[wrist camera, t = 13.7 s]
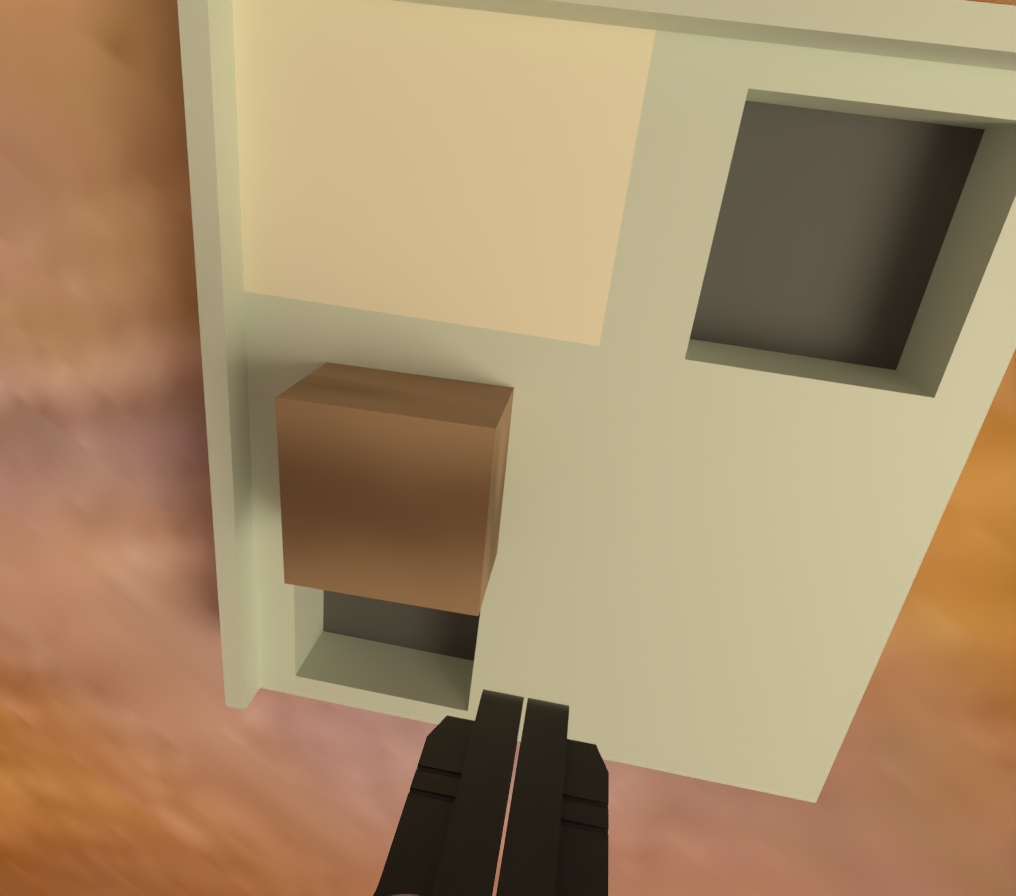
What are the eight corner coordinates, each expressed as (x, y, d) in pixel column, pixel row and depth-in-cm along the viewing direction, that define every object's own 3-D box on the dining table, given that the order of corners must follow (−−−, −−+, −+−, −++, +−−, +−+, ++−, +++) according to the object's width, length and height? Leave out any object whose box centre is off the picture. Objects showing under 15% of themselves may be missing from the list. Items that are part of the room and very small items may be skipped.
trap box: (805, 742, 28) (843, 855, 23) (267, 634, 30) (204, 719, 25) (1082, 64, 18) (1244, 29, 13) (244, -29, 20) (134, -87, 15)
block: (497, 553, 23) (478, 616, 20) (329, 526, 23) (284, 583, 20) (513, 387, 20) (496, 428, 17) (326, 362, 21) (275, 397, 18)
